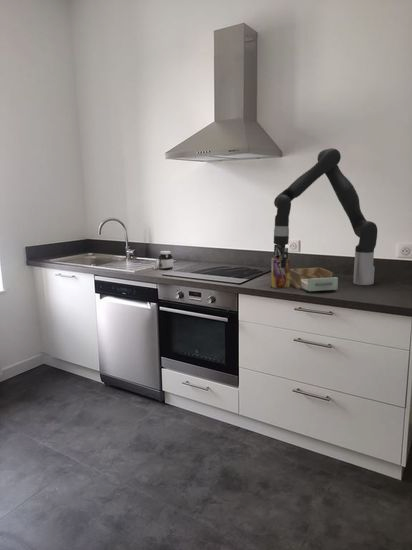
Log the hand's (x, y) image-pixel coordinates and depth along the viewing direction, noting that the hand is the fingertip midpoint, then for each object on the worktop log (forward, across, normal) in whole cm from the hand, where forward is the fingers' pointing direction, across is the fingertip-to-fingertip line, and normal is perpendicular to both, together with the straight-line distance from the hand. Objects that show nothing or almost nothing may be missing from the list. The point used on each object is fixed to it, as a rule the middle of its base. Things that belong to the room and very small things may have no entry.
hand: (280, 266), depth 213 cm
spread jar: (+12, +65, +57) cm, 87 cm away
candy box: (+11, 0, 0) cm, 11 cm away
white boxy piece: (+10, -11, -16) cm, 22 cm away
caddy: (+11, -1, -16) cm, 20 cm away
